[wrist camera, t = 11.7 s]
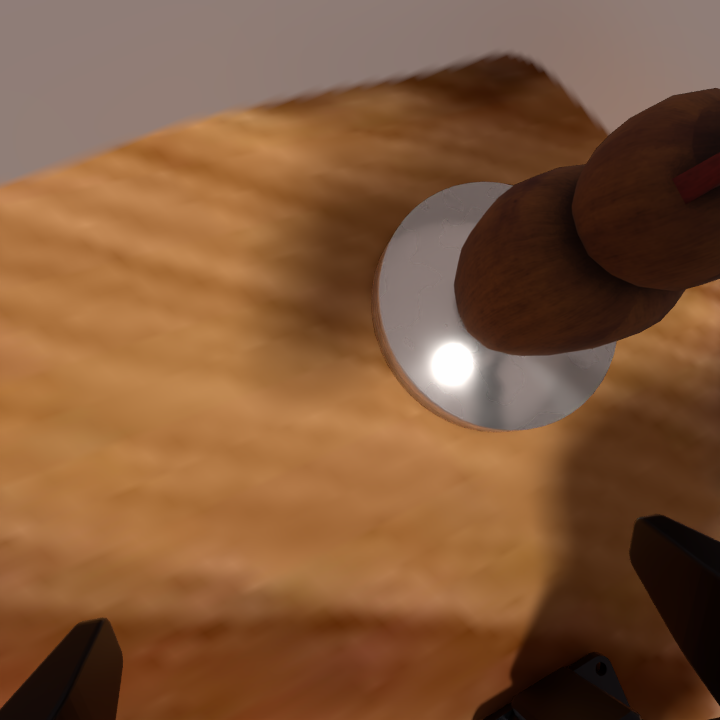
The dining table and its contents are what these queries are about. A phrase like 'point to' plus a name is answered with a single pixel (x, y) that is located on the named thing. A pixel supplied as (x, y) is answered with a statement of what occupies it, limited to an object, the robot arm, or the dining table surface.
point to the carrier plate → (449, 336)
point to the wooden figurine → (599, 237)
